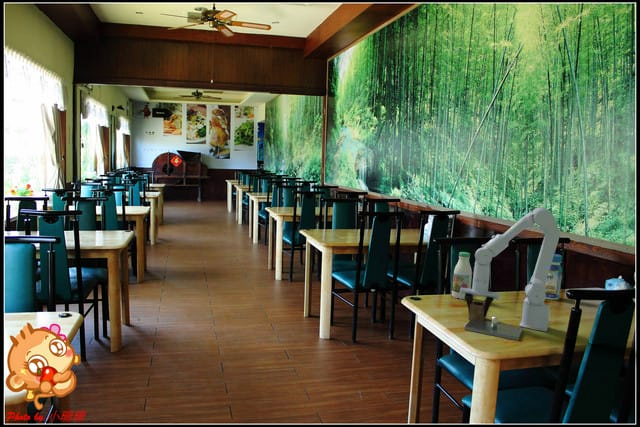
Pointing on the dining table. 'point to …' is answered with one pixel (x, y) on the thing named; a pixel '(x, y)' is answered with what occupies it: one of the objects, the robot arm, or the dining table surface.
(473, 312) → the hollow wooden block
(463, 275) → the milk bottle
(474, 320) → the plate
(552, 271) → the beverage bottle
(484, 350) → the dining table surface
